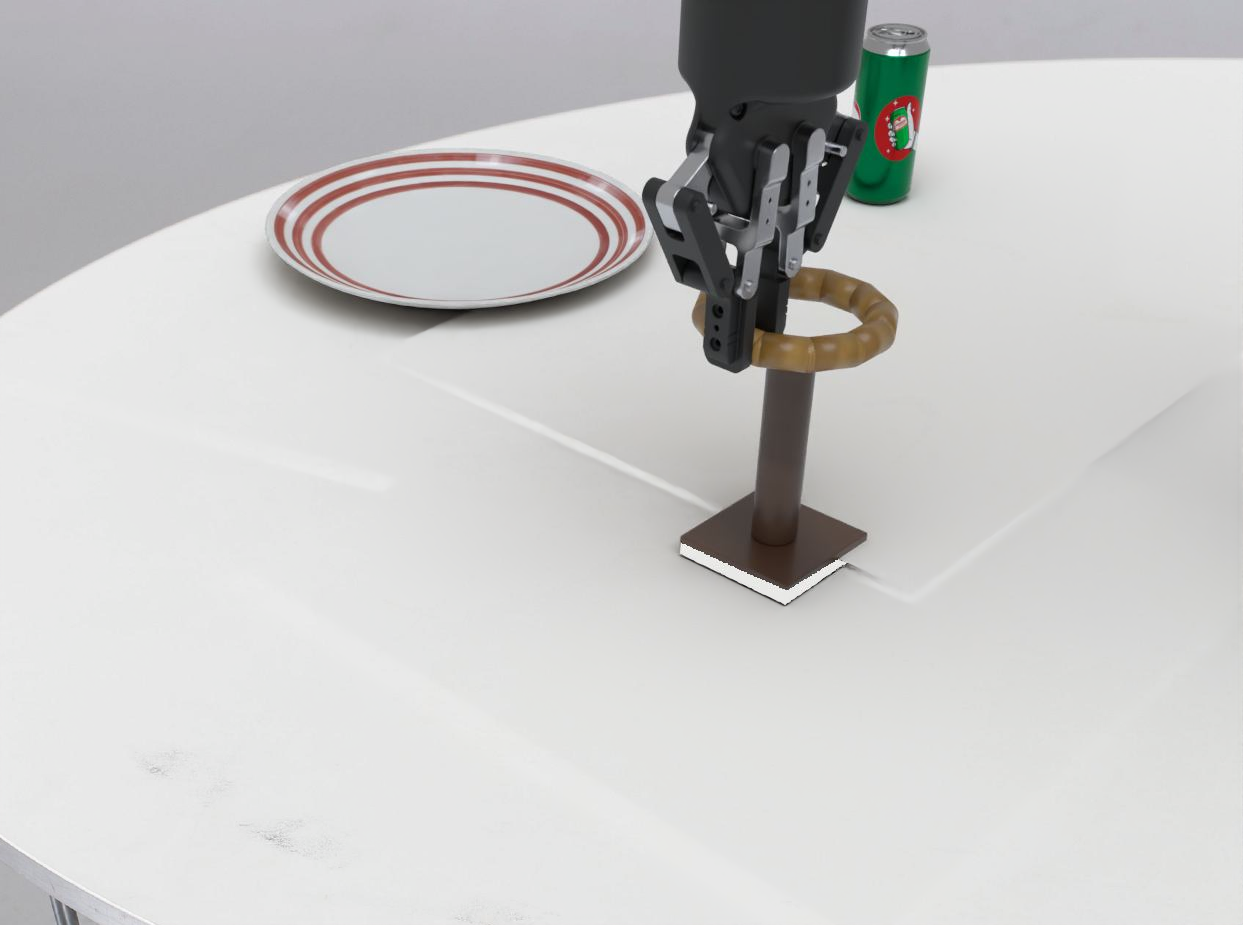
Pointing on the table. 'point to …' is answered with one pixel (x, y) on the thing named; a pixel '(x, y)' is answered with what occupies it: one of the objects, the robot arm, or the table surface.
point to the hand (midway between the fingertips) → (743, 356)
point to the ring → (826, 348)
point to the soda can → (889, 110)
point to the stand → (778, 499)
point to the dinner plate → (459, 227)
